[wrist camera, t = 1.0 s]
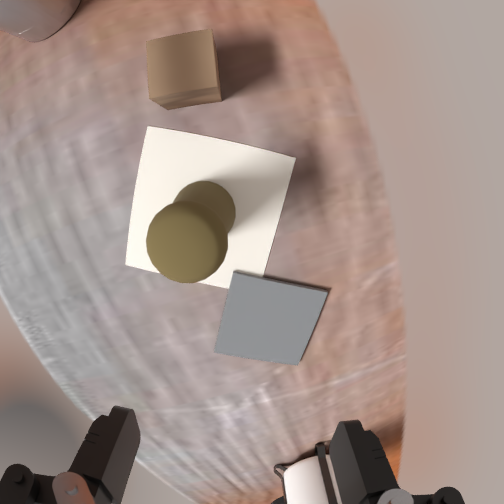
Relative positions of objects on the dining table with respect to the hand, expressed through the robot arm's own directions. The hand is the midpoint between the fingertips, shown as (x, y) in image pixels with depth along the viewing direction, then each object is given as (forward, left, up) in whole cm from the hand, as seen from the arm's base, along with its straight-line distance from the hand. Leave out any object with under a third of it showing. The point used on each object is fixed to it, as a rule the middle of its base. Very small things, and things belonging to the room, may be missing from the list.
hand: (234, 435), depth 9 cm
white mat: (-4, +4, -20) cm, 21 cm away
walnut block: (-8, +16, -20) cm, 27 cm away
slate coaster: (+5, -6, -20) cm, 22 cm away
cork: (-4, +4, -20) cm, 21 cm away
